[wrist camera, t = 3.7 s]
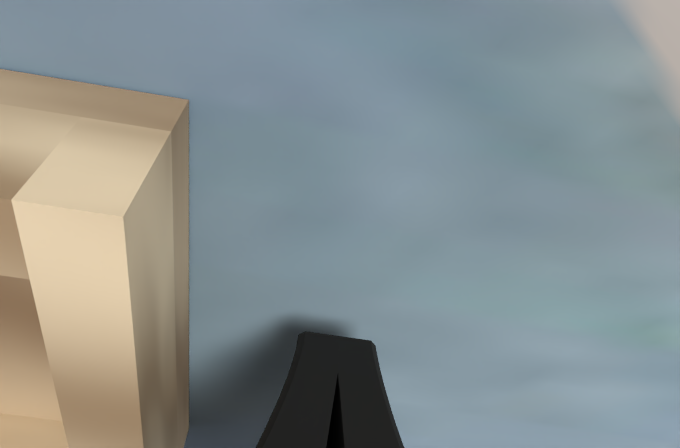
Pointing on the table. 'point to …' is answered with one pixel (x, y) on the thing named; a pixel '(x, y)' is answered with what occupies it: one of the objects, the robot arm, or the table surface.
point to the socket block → (93, 265)
